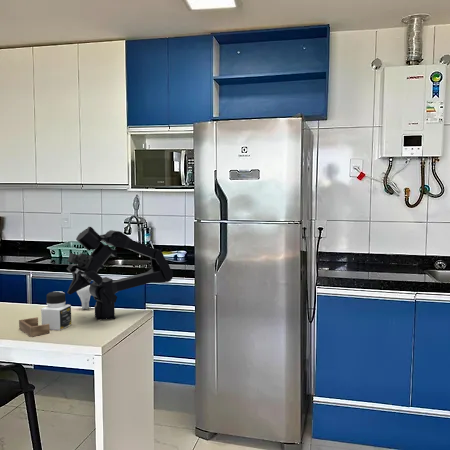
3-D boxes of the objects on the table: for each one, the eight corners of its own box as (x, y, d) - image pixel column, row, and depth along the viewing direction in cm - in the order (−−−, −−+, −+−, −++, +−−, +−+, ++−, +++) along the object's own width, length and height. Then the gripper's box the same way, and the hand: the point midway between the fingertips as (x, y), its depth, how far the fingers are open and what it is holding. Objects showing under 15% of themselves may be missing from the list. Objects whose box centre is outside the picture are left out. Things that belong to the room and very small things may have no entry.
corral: (37, 325, 164) (37, 317, 164) (49, 333, 155) (49, 324, 155) (19, 328, 160) (19, 320, 160) (30, 336, 151) (30, 327, 151)
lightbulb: (76, 308, 188) (75, 280, 188) (92, 306, 191) (92, 279, 190) (77, 311, 183) (77, 283, 182) (94, 310, 185) (94, 282, 184)
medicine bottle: (60, 330, 158) (59, 295, 157) (41, 329, 159) (40, 294, 159) (71, 324, 165) (70, 290, 164) (53, 323, 166) (52, 289, 166)
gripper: (71, 242, 174) (41, 276, 167) (92, 246, 159) (61, 283, 153) (92, 261, 179) (64, 294, 173) (115, 267, 165) (85, 303, 159)
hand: (68, 293), depth 164 cm, fingers closed
